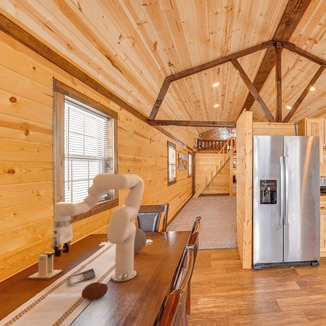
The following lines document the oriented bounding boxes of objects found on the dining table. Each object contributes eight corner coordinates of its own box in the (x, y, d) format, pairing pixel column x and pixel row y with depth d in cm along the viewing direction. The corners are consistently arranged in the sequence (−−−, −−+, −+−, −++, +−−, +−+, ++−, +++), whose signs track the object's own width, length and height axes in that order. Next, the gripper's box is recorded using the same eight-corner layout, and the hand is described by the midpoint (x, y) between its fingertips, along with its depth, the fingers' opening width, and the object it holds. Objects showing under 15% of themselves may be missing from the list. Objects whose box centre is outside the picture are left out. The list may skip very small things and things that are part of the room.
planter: (146, 250, 175) (146, 225, 176) (146, 253, 169) (146, 227, 169) (118, 253, 168) (119, 228, 168) (117, 257, 161) (117, 230, 162)
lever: (67, 249, 136) (65, 245, 136) (60, 252, 131) (58, 249, 131) (48, 258, 136) (46, 254, 136) (40, 261, 131) (39, 257, 131)
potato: (106, 300, 110) (106, 284, 110) (79, 306, 105) (79, 289, 105) (108, 291, 118) (108, 276, 118) (83, 296, 113) (83, 281, 113)
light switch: (93, 271, 138) (69, 280, 130) (93, 268, 138) (68, 277, 130) (95, 278, 130) (69, 288, 122) (95, 274, 129) (69, 284, 122)
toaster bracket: (62, 272, 138) (62, 251, 138) (49, 279, 129) (49, 257, 129) (42, 272, 138) (42, 251, 138) (27, 279, 129) (28, 256, 129)
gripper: (56, 227, 126) (56, 260, 125) (79, 220, 143) (79, 249, 142) (43, 227, 126) (42, 260, 125) (67, 219, 143) (66, 249, 142)
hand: (61, 254), depth 134 cm, fingers closed on lever, 5 cm apart
